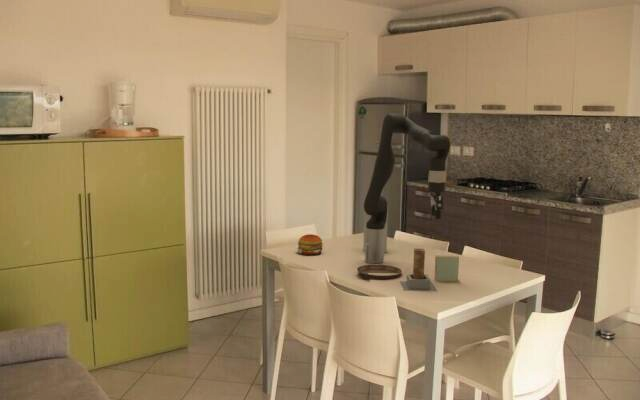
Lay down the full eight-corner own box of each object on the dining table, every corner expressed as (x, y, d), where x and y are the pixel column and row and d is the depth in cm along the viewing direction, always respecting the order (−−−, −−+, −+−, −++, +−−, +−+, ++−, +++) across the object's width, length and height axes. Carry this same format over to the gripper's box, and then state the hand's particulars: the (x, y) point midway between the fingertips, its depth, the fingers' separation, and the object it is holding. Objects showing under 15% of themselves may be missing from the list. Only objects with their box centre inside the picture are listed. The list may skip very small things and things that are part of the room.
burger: (327, 254, 319) (328, 235, 318) (306, 257, 311) (306, 238, 310) (313, 249, 330) (313, 231, 328) (292, 252, 322) (292, 233, 321)
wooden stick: (414, 287, 257) (415, 250, 254) (412, 284, 261) (414, 248, 258) (423, 287, 257) (424, 250, 254) (421, 284, 261) (423, 248, 258)
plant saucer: (373, 268, 292) (373, 261, 292) (410, 276, 279) (410, 269, 279) (347, 276, 276) (347, 269, 276) (385, 285, 263) (385, 278, 263)
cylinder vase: (391, 252, 325) (392, 206, 321) (373, 255, 318) (374, 208, 314) (376, 248, 335) (377, 203, 331) (358, 250, 328) (359, 205, 324)
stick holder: (403, 292, 252) (404, 281, 251) (399, 283, 266) (400, 272, 265) (437, 293, 252) (437, 281, 251) (431, 283, 266) (431, 272, 265)
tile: (435, 283, 267) (436, 256, 265) (434, 281, 270) (435, 255, 268) (457, 283, 267) (459, 257, 265) (456, 281, 270) (457, 255, 268)
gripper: (425, 179, 272) (424, 214, 274) (431, 182, 258) (430, 219, 260) (441, 179, 272) (440, 214, 274) (449, 182, 258) (448, 219, 260)
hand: (435, 217), depth 267 cm, fingers open, 8 cm apart
